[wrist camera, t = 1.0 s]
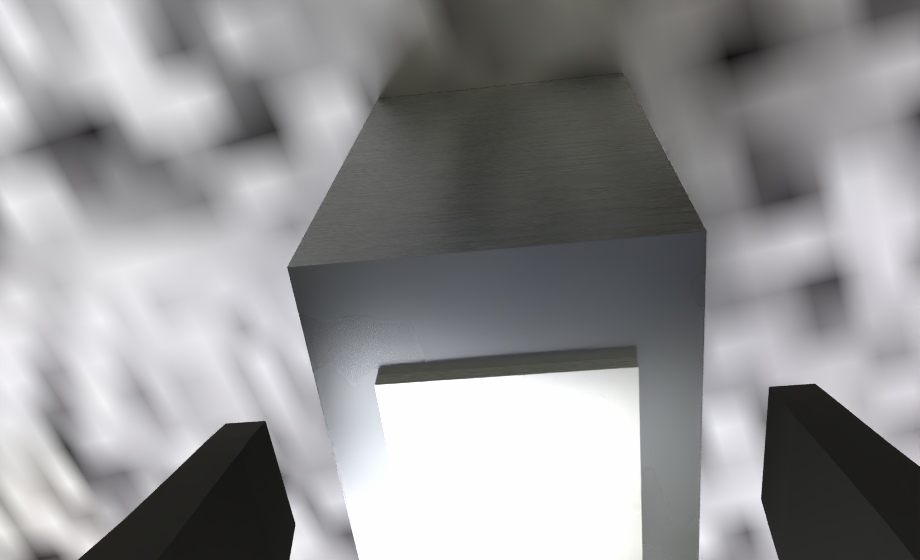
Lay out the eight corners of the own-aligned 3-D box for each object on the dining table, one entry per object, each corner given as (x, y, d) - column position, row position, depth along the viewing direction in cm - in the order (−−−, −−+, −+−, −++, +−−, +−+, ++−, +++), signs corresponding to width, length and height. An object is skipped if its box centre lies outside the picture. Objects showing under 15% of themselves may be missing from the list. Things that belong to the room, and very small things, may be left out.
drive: (621, 72, 14) (710, 238, 8) (631, 423, 18) (697, 728, 12) (378, 97, 15) (283, 276, 9) (435, 436, 19) (397, 734, 12)
